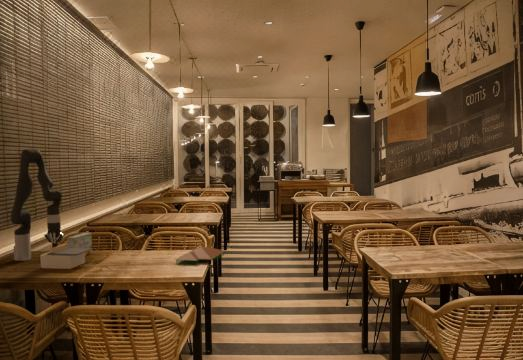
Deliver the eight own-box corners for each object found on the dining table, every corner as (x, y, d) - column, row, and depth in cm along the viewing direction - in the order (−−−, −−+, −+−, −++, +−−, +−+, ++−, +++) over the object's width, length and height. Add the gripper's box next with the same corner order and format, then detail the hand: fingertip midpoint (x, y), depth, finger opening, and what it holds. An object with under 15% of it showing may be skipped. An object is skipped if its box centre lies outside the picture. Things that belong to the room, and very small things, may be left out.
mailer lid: (47, 254, 284) (46, 248, 283) (62, 249, 299) (62, 243, 299) (77, 255, 280) (76, 249, 280) (91, 249, 296) (91, 243, 296)
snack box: (74, 260, 304) (73, 237, 303) (67, 260, 305) (66, 237, 304) (92, 253, 325) (92, 232, 324) (85, 253, 326) (84, 232, 325)
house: (227, 254, 314) (226, 242, 314) (209, 266, 283) (208, 253, 282) (195, 253, 320) (195, 241, 320) (174, 264, 288) (174, 251, 288)
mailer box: (40, 267, 285) (40, 255, 284) (56, 261, 301) (56, 249, 300) (70, 268, 281) (70, 255, 281) (85, 262, 297) (84, 250, 297)
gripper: (40, 222, 288) (41, 250, 289) (59, 222, 285) (61, 250, 286) (48, 220, 295) (49, 247, 296) (67, 220, 293) (68, 248, 294)
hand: (55, 249), depth 291 cm, fingers closed
